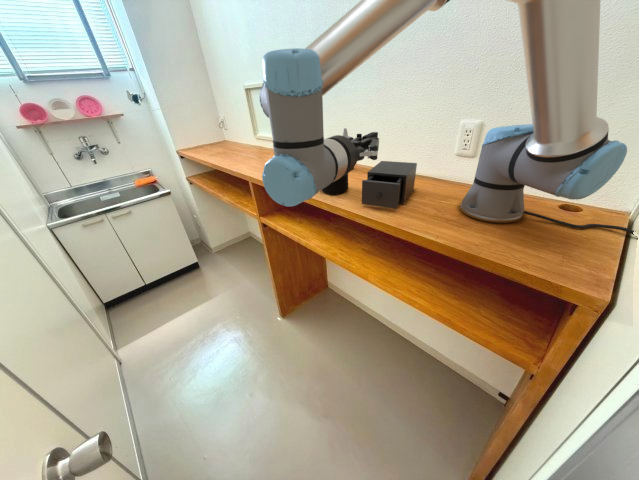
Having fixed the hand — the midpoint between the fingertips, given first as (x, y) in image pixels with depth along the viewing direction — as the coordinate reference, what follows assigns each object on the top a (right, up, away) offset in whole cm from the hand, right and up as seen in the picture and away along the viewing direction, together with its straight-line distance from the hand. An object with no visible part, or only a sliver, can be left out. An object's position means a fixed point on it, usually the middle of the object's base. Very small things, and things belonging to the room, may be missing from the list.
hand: (374, 137), depth 64 cm
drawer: (+8, -12, +20) cm, 25 cm away
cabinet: (+11, -10, +26) cm, 30 cm away
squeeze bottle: (-1, +8, +58) cm, 58 cm away
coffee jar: (-8, -7, +34) cm, 35 cm away
